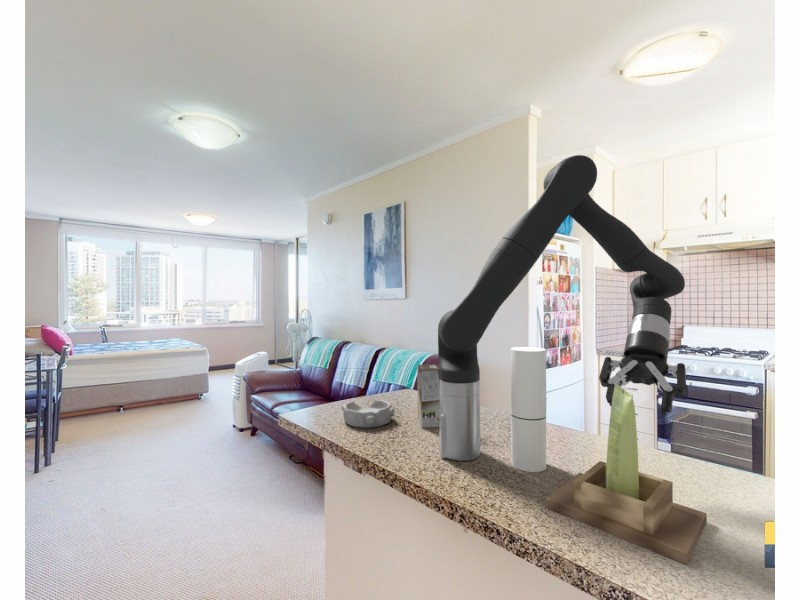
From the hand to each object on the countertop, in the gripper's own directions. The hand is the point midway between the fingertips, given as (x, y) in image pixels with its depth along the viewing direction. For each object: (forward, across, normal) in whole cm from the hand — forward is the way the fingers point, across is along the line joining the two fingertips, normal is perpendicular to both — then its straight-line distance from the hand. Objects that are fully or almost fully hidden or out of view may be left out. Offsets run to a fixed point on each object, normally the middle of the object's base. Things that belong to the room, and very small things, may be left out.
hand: (636, 408), depth 73 cm
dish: (+14, -68, +8) cm, 69 cm away
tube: (+18, 0, +2) cm, 18 cm away
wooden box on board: (+19, 0, +3) cm, 19 cm away
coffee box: (+6, -53, +15) cm, 56 cm away
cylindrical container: (+13, -20, +9) cm, 25 cm away
